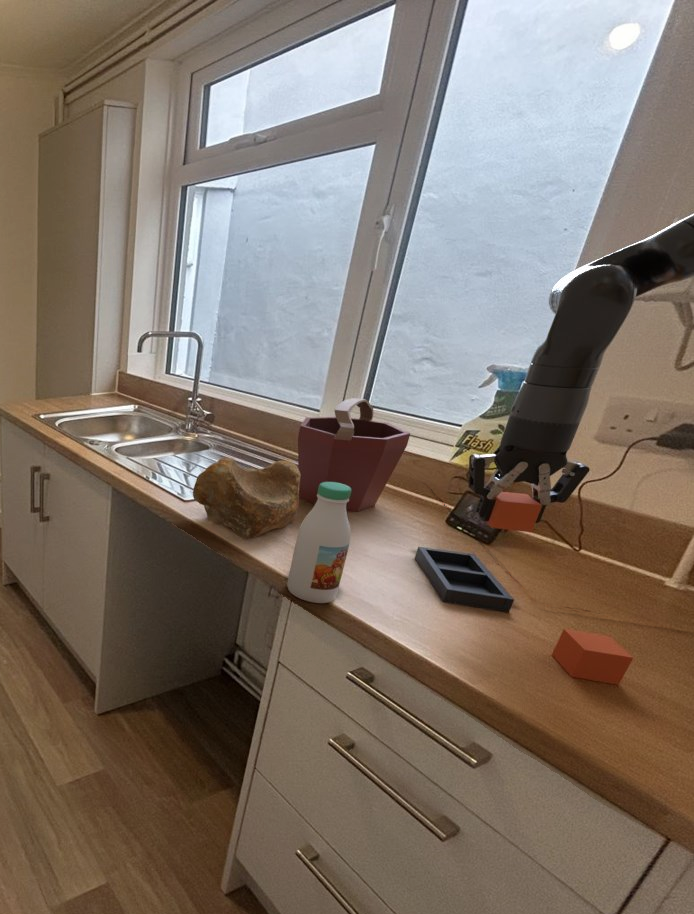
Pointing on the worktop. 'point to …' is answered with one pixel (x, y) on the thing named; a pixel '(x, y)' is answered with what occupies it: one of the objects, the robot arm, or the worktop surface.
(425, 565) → the frame
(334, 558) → the milk bottle
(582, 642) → the orange block
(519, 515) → the orange square block
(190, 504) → the worktop surface
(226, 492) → the rough brown rock
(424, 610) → the worktop surface
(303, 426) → the bucket
